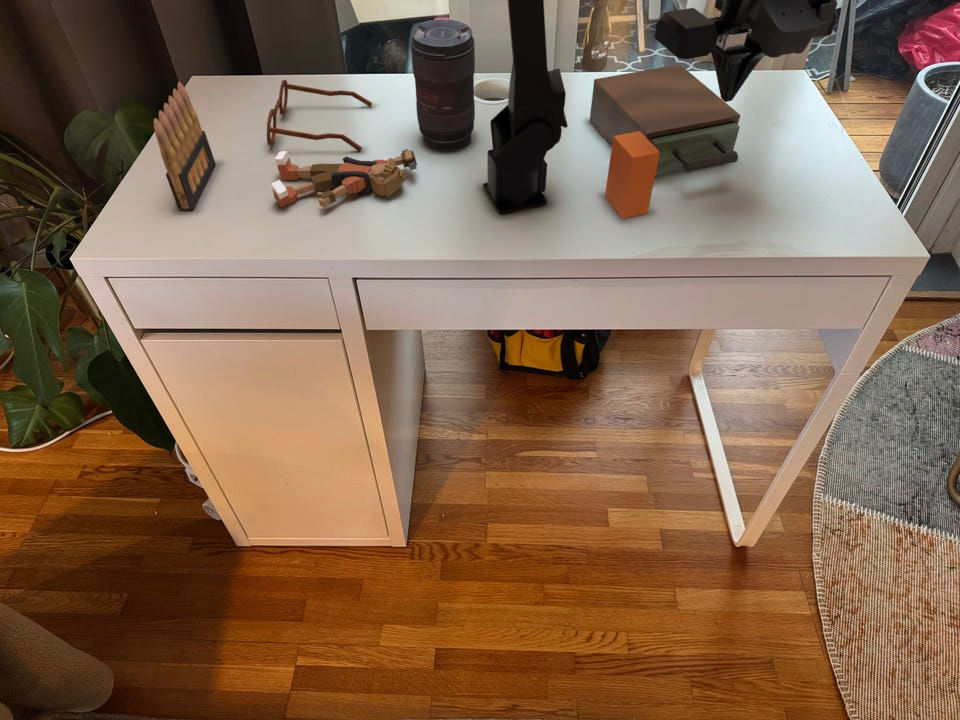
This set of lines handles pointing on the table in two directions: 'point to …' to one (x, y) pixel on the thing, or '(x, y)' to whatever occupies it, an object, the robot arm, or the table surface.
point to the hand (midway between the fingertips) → (726, 99)
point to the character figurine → (342, 177)
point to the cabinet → (655, 104)
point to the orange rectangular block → (631, 174)
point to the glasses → (299, 134)
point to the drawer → (697, 148)
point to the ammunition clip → (184, 149)
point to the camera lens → (444, 82)
